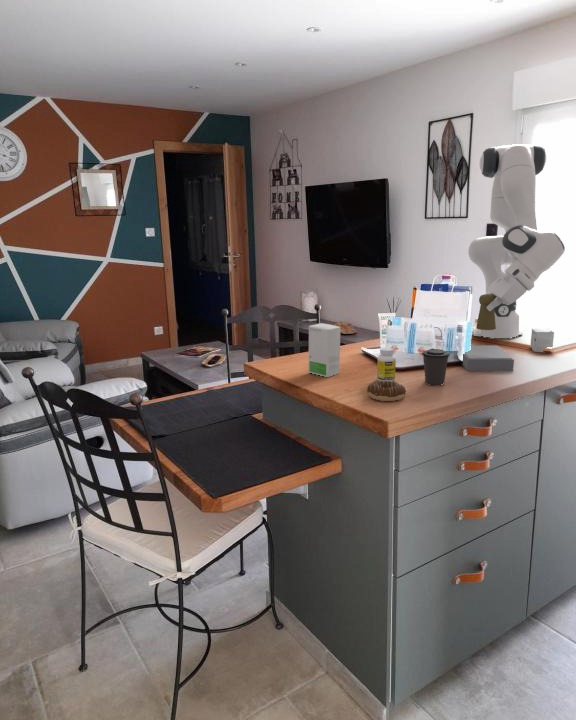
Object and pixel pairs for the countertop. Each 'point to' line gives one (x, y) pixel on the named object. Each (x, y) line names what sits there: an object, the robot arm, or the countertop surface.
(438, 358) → the coffee cup
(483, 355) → the plinth
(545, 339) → the skincare box
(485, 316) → the cork
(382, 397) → the donut
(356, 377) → the countertop surface
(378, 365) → the supplement bottle
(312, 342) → the skincare box
